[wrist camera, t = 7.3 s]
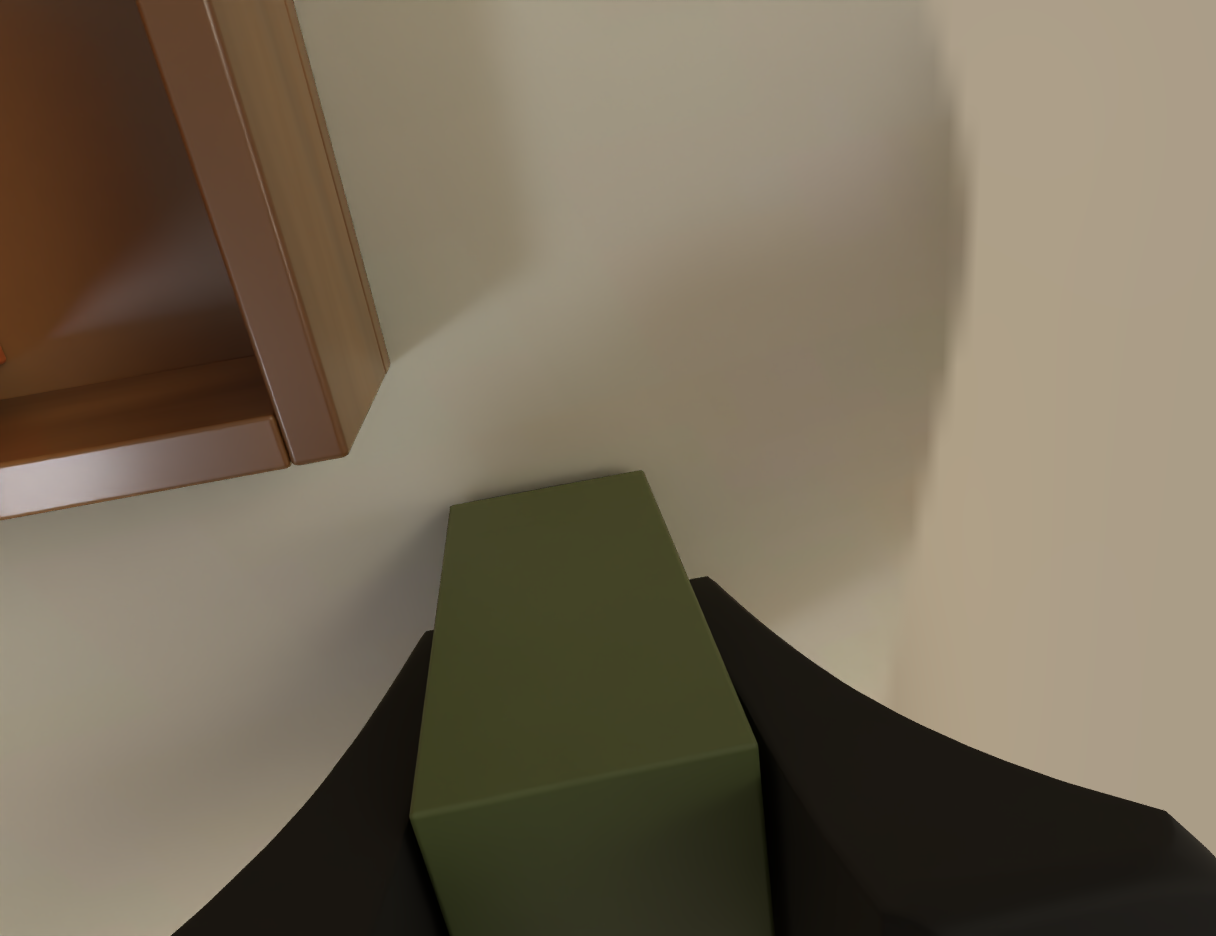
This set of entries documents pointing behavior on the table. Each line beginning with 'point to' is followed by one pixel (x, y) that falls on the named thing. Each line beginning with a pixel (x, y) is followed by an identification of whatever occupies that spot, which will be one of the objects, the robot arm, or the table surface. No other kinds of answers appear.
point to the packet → (583, 730)
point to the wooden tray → (170, 253)
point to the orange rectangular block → (2, 356)
